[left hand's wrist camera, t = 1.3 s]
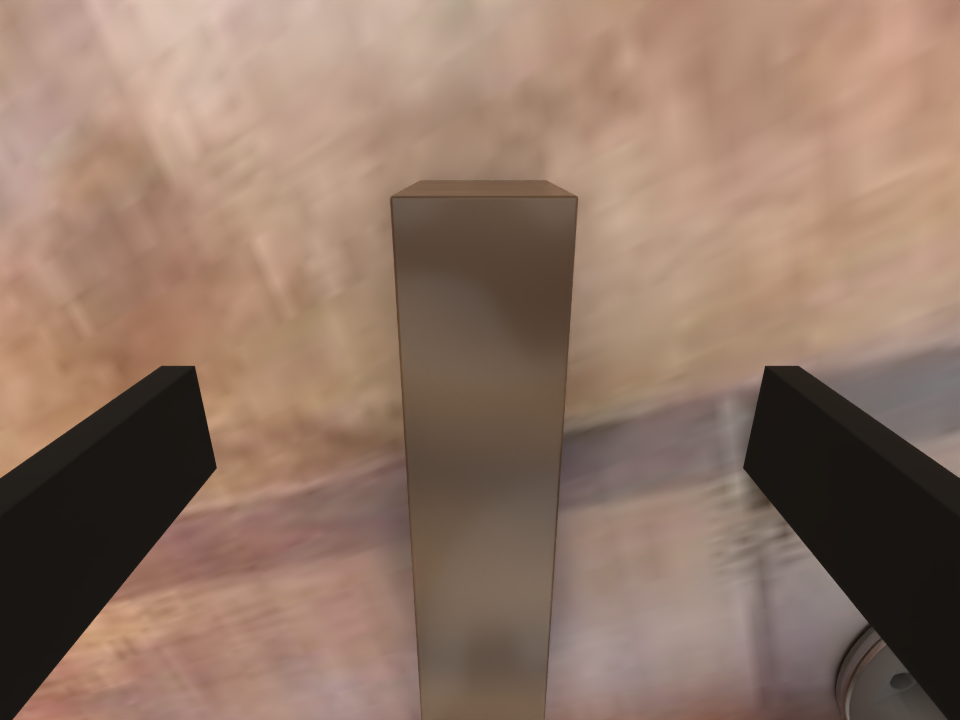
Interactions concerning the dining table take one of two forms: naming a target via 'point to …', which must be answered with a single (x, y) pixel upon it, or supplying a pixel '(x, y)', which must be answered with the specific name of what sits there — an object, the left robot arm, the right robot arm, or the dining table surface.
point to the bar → (483, 432)
